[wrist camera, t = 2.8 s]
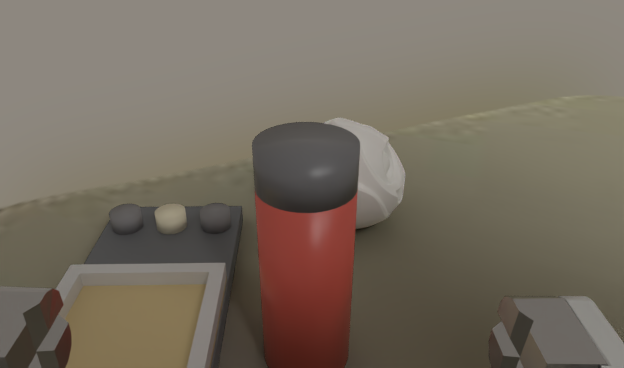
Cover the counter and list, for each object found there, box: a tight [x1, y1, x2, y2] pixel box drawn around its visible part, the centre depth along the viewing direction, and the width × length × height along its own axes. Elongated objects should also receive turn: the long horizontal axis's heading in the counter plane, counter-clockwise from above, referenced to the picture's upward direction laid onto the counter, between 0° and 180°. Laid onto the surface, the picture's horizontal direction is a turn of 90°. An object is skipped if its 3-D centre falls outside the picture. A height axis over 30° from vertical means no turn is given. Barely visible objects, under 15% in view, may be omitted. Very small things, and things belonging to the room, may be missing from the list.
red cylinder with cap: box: [252, 122, 360, 368], centre depth 23 cm, size 4×4×12 cm
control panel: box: [55, 203, 243, 368], centre depth 28 cm, size 19×9×2 cm, turn 2°
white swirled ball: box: [324, 118, 406, 229], centre depth 36 cm, size 8×8×8 cm
